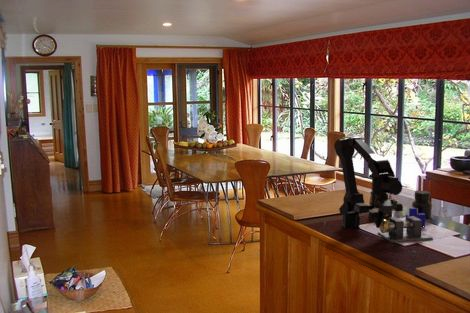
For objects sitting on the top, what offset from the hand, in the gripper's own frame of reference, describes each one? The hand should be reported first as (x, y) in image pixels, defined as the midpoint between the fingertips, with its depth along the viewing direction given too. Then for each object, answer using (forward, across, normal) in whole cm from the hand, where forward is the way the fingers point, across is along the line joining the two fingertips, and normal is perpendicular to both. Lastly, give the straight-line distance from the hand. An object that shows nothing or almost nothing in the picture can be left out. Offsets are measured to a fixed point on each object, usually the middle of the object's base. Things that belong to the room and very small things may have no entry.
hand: (377, 227), depth 207 cm
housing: (+4, +12, 0) cm, 13 cm away
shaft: (+2, +10, 0) cm, 10 cm away
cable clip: (+5, +27, +18) cm, 33 cm away
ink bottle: (+5, +36, +28) cm, 46 cm away
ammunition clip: (+5, +16, +30) cm, 34 cm away
